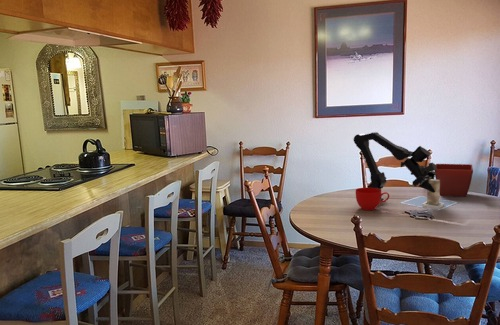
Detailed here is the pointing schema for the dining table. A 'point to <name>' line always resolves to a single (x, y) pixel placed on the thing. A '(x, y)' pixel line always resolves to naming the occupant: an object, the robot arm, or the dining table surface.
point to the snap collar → (433, 205)
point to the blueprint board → (421, 199)
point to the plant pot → (454, 179)
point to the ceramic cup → (369, 198)
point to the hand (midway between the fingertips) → (436, 191)
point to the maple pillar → (434, 197)
